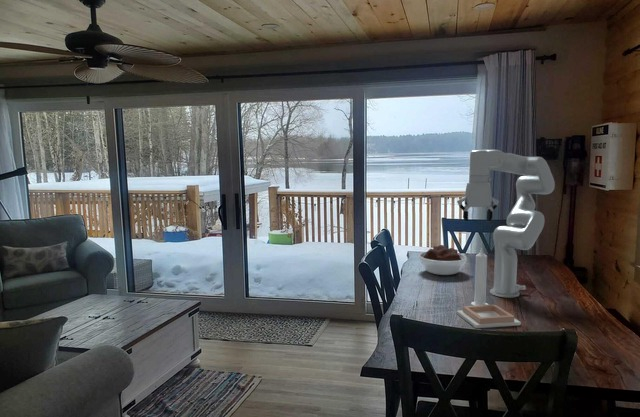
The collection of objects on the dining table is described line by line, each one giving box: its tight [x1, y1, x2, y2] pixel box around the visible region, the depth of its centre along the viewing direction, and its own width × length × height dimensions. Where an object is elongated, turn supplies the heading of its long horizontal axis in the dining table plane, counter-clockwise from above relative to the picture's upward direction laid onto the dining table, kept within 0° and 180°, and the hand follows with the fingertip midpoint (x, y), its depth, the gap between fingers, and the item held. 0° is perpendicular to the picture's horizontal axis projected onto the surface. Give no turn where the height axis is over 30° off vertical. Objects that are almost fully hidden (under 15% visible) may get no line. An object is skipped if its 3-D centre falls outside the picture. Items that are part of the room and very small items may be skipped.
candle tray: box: [456, 304, 522, 329], centre depth 177 cm, size 18×16×3 cm
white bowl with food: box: [418, 244, 468, 276], centre depth 245 cm, size 25×25×15 cm
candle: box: [470, 247, 490, 306], centre depth 191 cm, size 7×7×25 cm
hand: (477, 220), depth 191 cm, fingers open, 9 cm apart
